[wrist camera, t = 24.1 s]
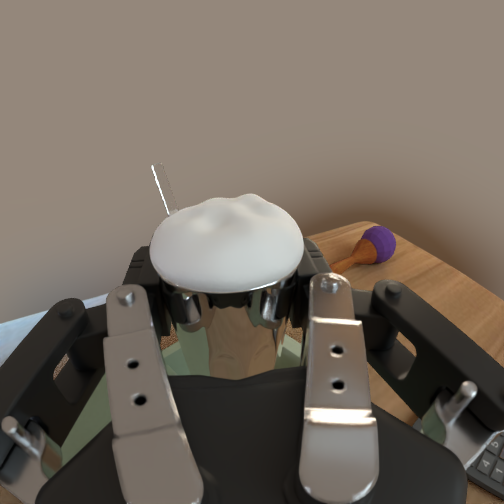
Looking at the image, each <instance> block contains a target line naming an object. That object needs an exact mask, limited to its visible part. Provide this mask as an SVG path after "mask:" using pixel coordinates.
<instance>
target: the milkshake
mask: <svg viewBox="0 0 504 504" xmlns="http://www.w3.org/2000/svg"><path fill="white" fill-rule="evenodd" d="M151 168H152V171H153V174H154V177H155V180H156V183H157V186H158V189H159V191H160V194H161V197H162V200H163V202H164V205H165V208H166V211H167V213H168V216H169V217H168V218H166V219H165V220H164V221H163V222H162V223H161V224H160V225H159V226H158V228H157V229H156V231H155V233H154V235H153V237H152V240H151V244H150V259H151V262H152V265H153V268H154V271H155V275H156V278H157V281H158V284H159V287H160V290H161V293H162V296H163V299H164V302H165V305H166V307H167V310H168V313H169V316H170V319H171V321H172V324H173V327H174V329H175V332H176V335H177V338H178V340H179V343H180V346H181V349H182V352H183V355H184V358H185V360H186V363H187V366H188V369H189V372H190V374H191V375H205V376H211V377H217V378H224V379H231V380H239V379H243V378H247V377H250V376H253V375H257V374H260V373H263V372H266V371H269V370H272V369H278V366H279V361H280V357H281V352H282V347H283V342H284V337H285V332H286V327H287V322H288V319H289V315H290V311H291V307H292V303H293V298H294V294H295V289H296V285H297V280H298V276H299V271H300V266H301V261H302V256H303V251H304V242H303V237H302V234H301V231H300V229H299V227H298V225H297V224H296V222H295V221H294V220H293V218H292V217H291V216H290V215H289V214H288V213H287V212H286V211H284V210H283V209H281V208H280V207H278V206H276V205H274V204H272V203H269V202H267V201H265V200H264V199H262V198H261V197H259V196H257V195H254V194H245V195H242V196H239V197H236V198H212V199H209V200H207V201H205V202H202V203H200V204H198V205H195V206H192V207H187V208H184V209H182V210H178V207H177V204H176V202H175V199H174V196H173V193H172V190H171V188H170V185H169V182H168V179H167V176H166V174H165V171H164V168H163V165H162V163H158V164H154V165H152V166H151Z"/></svg>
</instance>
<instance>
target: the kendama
mask: <svg viewBox="0 0 504 504" xmlns="http://www.w3.org/2000/svg"><path fill="white" fill-rule="evenodd" d="M395 247H396V241H395V238H394V236H393V234H392V232H391V231H390V230H388V229H387V228H385V227H382V226H373V227H372V228H370V229H368V230H366V231H365V232H364V234H363V236H362V238H361V240H359V241H358V242H357V244H356V246H355V248H354V250H353V252H352V254H351V256H350V257H349V258H346V259H344V260H341V261H338V262H336V263H333V264H331V265H329V266H330V268H331V270H332V271H333V273H335V274H338V275H340V274H342V273H343V272H344V271H345V270H346V269H348V268H349V267H350V266H351V265H353V264H354V263H359V264H372V263H374V262H375V263H382V262H385V261H387V260H388V259H390V258H391V256H392V255H393V254H394V251H395Z"/></svg>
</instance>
